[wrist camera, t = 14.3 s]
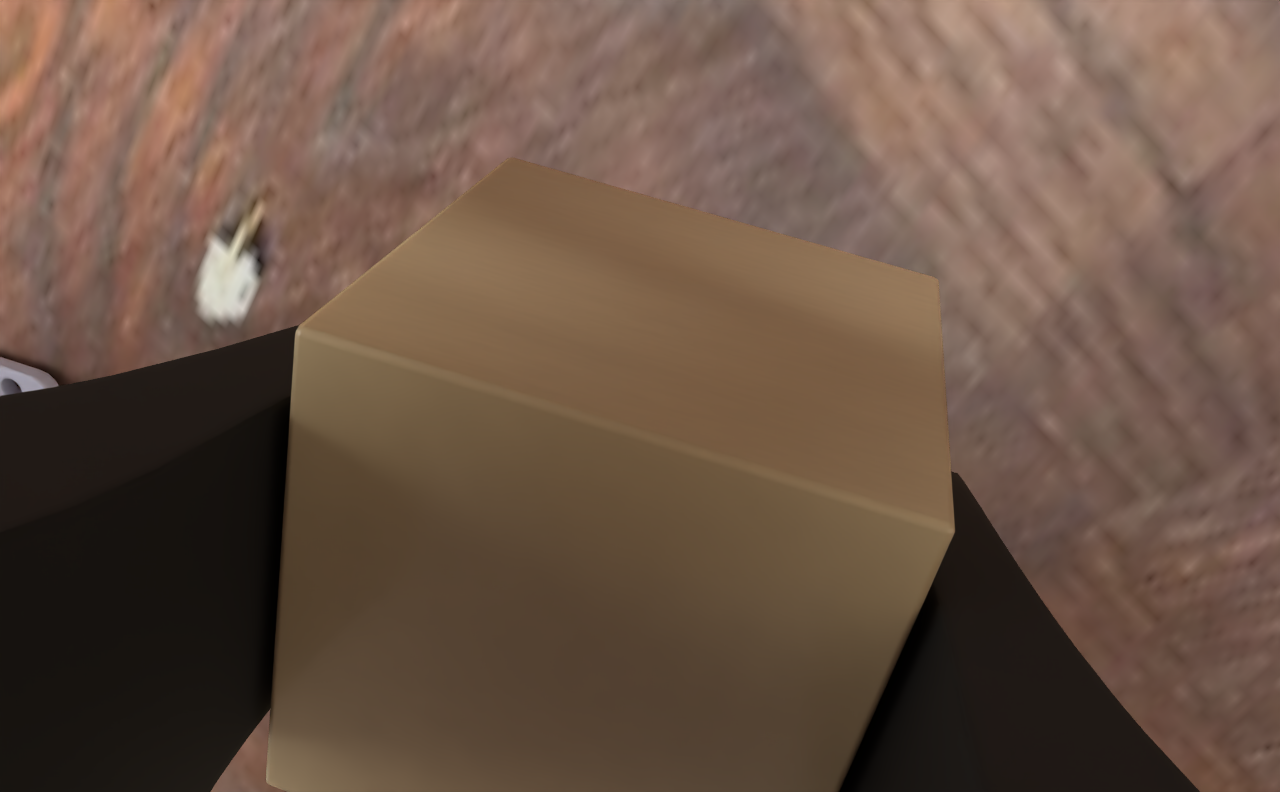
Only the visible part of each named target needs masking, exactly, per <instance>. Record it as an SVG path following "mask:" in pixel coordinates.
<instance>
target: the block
mask: <svg viewBox="0 0 1280 792" xmlns="http://www.w3.org/2000/svg"><path fill="white" fill-rule="evenodd" d="M954 533H955V523H954V508H953V493H952V478H951V463H950V447H949V432H948V417H947V402H946V387H945V371H944V356H943V341H942V326H941V311H940V296H939V281H938V280H937V279H936V278H935V277H931V276H928V275H924V274H921V273H917V272H914V271H910V270H907V269H903V268H900V267H896V266H893V265H889V264H886V263H882V262H879V261H875V260H872V259H868V258H864V257H861V256H857V255H854V254H850V253H847V252H843V251H840V250H836V249H833V248H829V247H826V246H822V245H819V244H815V243H812V242H808V241H805V240H801V239H798V238H794V237H791V236H787V235H784V234H780V233H776V232H773V231H769V230H766V229H762V228H759V227H755V226H752V225H748V224H745V223H741V222H738V221H734V220H731V219H727V218H724V217H720V216H717V215H713V214H710V213H706V212H703V211H699V210H696V209H692V208H688V207H685V206H681V205H678V204H674V203H671V202H667V201H664V200H660V199H657V198H653V197H650V196H646V195H643V194H639V193H636V192H632V191H629V190H625V189H622V188H618V187H615V186H611V185H608V184H604V183H600V182H597V181H593V180H590V179H586V178H583V177H579V176H576V175H572V174H569V173H565V172H562V171H558V170H555V169H551V168H548V167H544V166H541V165H537V164H534V163H530V162H527V161H523V160H519V159H516V158H508V159H506V160H505V161H504V162H503V163H501V164H500V165H499V166H498V167H496V168H495V169H494V170H493V171H491V172H490V173H489V174H488V175H486V176H485V177H484V178H483V179H481V180H480V181H479V182H478V183H476V184H475V185H474V186H473V187H471V188H470V189H469V190H468V191H466V192H465V193H464V194H463V195H461V196H460V197H459V198H458V199H456V200H455V201H454V202H453V203H451V204H450V205H449V206H448V207H446V208H445V209H444V210H443V211H441V212H440V213H439V214H438V215H437V216H435V217H434V218H433V219H432V220H430V221H429V222H428V223H427V224H425V225H424V226H423V227H422V228H420V229H419V230H418V231H417V232H415V233H414V234H413V235H412V236H410V237H409V238H408V239H407V240H405V241H404V242H403V243H402V244H400V245H399V246H398V247H397V248H395V249H394V250H393V251H392V252H390V253H389V254H388V255H387V256H385V257H384V258H383V259H382V260H380V261H379V262H378V263H377V264H375V265H374V266H373V267H372V268H370V269H369V270H368V271H367V272H365V273H364V274H363V275H362V276H360V277H359V278H358V279H357V280H355V281H354V282H353V283H352V284H350V285H349V286H348V287H347V288H345V289H344V290H343V291H342V292H340V293H339V294H338V295H337V296H335V297H334V298H333V299H332V300H330V301H329V302H328V303H327V304H326V305H324V306H323V307H322V308H321V309H319V310H318V311H317V312H316V313H314V314H313V315H312V316H311V317H309V318H308V319H307V320H306V321H304V322H303V323H302V324H301V325H299V327H298V328H297V330H296V333H295V345H294V360H293V375H292V390H291V405H290V421H289V436H288V451H287V466H286V481H285V496H284V512H283V527H282V542H281V557H280V572H279V587H278V602H277V618H276V633H275V648H274V663H273V678H272V693H271V709H270V724H269V739H268V754H267V769H266V782H267V783H268V784H269V785H270V786H273V787H276V788H279V789H282V790H285V791H288V792H840V789H841V787H842V785H843V783H844V780H845V778H846V776H847V774H848V771H849V769H850V767H851V765H852V762H853V760H854V758H855V756H856V753H857V751H858V749H859V747H860V744H861V742H862V740H863V738H864V735H865V733H866V731H867V729H868V726H869V724H870V722H871V720H872V717H873V715H874V713H875V711H876V708H877V706H878V704H879V702H880V699H881V697H882V695H883V693H884V690H885V688H886V686H887V684H888V681H889V679H890V677H891V675H892V672H893V670H894V668H895V666H896V663H897V661H898V659H899V657H900V654H901V652H902V650H903V648H904V645H905V643H906V641H907V639H908V636H909V634H910V632H911V630H912V627H913V625H914V623H915V621H916V619H917V616H918V614H919V612H920V610H921V607H922V605H923V603H924V601H925V598H926V596H927V594H928V592H929V589H930V587H931V585H932V583H933V580H934V578H935V576H936V574H937V571H938V569H939V567H940V565H941V562H942V560H943V558H944V556H945V553H946V551H947V549H948V547H949V544H950V542H951V540H952V538H953V535H954Z"/></svg>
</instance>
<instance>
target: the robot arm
mask: <svg viewBox="0 0 1280 792" xmlns="http://www.w3.org/2000/svg"><path fill="white" fill-rule="evenodd" d="M298 327H299V325H298V326H294V327H291V328H287V329H284V330H281V331H277V332H274V333H270V334H267V335H264V336H260V337H257V338H253V339H250V340H247V341H243V342H240V343H236V344H233V345H230V346H226V347H223V348H219V349H216V350H212V351H208V352H204V353H200V354H196V355H192V356H188V357H184V358H180V359H176V360H172V361H168V362H164V363H160V364H156V365H152V366H148V367H144V368H140V369H136V370H132V371H128V372H124V373H120V374H116V375H112V376H107V377H102V378H98V379H93V380H88V381H83V382H78V383H73V384H67V385H62V386H59V385H58V384H57V382H56V380H55V379H54V378H53V377H52V376H50V375H49V374H48V373H46V372H44V371H42V370H39V369H36V368H33V367H30V366H27V365H24V364H21V363H18V362H15V361H12V360H8V359H5V358H2V357H0V792H210V791H211V790H212V788H213V787H214V785H215V783H216V782H217V780H218V779H219V777H220V776H221V775H222V773H223V772H224V770H225V769H226V767H227V766H228V765H229V763H230V762H231V760H232V759H233V758H234V756H235V755H236V753H237V752H238V751H239V749H240V748H241V746H242V745H243V743H244V742H245V741H246V739H247V738H248V737H249V735H250V734H251V733H252V731H253V730H254V729H255V728H256V726H257V725H258V724H259V722H260V721H261V720H262V719H263V717H264V716H265V715H266V713H267V712H268V711H269V710H270V708H271V693H272V678H273V663H274V648H275V633H276V618H277V602H278V587H279V572H280V557H281V542H282V527H283V512H284V496H285V481H286V466H287V451H288V436H289V421H290V405H291V390H292V375H293V360H294V345H295V333H296V330H297V328H298ZM14 381H15V382H16V383H17V384H18V385H19V386H20V388H21V389H20V388H18V386H17V385H16V384H15V382H14ZM951 478H952V493H953V508H954V523H955V533H954V535H953V538H952V540H951V542H950V544H949V547H948V549H947V551H946V553H945V556H944V558H943V560H942V562H941V565H940V567H939V569H938V571H937V574H936V576H935V578H934V580H933V583H932V585H931V587H930V589H929V592H928V594H927V596H926V598H925V601H924V603H923V605H922V607H921V610H920V612H919V614H918V616H917V619H916V621H915V623H914V625H913V627H912V630H911V632H910V634H909V636H908V639H907V641H906V643H905V645H904V648H903V650H902V652H901V654H900V657H899V659H898V661H897V663H896V666H895V668H894V670H893V672H892V675H891V677H890V679H889V681H888V684H887V686H886V688H885V690H884V693H883V695H882V697H881V699H880V702H879V704H878V706H877V708H876V711H875V713H874V715H873V717H872V720H871V722H870V724H869V726H868V729H867V731H866V733H865V735H864V738H863V740H862V742H861V744H860V747H859V749H858V751H857V753H856V756H855V758H854V760H853V762H852V765H851V767H850V769H849V771H848V774H847V776H846V778H845V780H844V783H843V785H842V787H841V789H840V792H1200V791H1199V790H1198V789H1197V788H1196V787H1195V786H1194V785H1193V784H1192V783H1191V782H1190V781H1189V779H1188V778H1187V777H1186V776H1185V775H1184V774H1183V773H1182V772H1181V771H1180V770H1179V769H1178V768H1177V766H1176V765H1175V764H1174V763H1173V762H1172V761H1171V760H1170V759H1169V758H1168V757H1167V756H1166V755H1165V754H1164V752H1163V751H1162V750H1161V749H1160V748H1159V747H1158V746H1157V745H1156V744H1155V743H1154V742H1153V741H1152V739H1151V738H1150V737H1149V736H1148V735H1147V734H1146V733H1145V732H1144V731H1143V729H1142V728H1141V727H1140V726H1139V725H1138V724H1137V723H1136V721H1135V720H1134V719H1133V718H1132V717H1131V716H1130V714H1129V713H1128V712H1127V711H1126V710H1125V709H1124V707H1123V706H1122V705H1121V704H1120V703H1119V701H1118V700H1117V699H1116V698H1115V696H1114V695H1113V694H1112V693H1111V691H1110V690H1109V689H1108V688H1107V686H1106V685H1105V684H1104V682H1103V681H1102V680H1101V679H1100V677H1099V676H1098V675H1097V674H1096V672H1095V671H1094V670H1093V668H1092V667H1091V666H1090V665H1089V663H1088V662H1087V661H1086V660H1085V658H1084V657H1083V656H1082V655H1081V653H1080V652H1079V651H1078V649H1077V648H1076V647H1075V646H1074V644H1073V643H1072V641H1071V640H1070V639H1069V637H1068V636H1067V635H1066V633H1065V632H1064V631H1063V629H1062V628H1061V626H1060V625H1059V624H1058V622H1057V621H1056V620H1055V618H1054V617H1053V615H1052V614H1051V613H1050V611H1049V610H1048V608H1047V607H1046V606H1045V604H1044V603H1043V601H1042V600H1041V598H1040V597H1039V595H1038V594H1037V593H1036V591H1035V590H1034V588H1033V587H1032V585H1031V584H1030V582H1029V581H1028V579H1027V578H1026V576H1025V575H1024V573H1023V572H1022V570H1021V569H1020V567H1019V566H1018V564H1017V563H1016V561H1015V560H1014V558H1013V557H1012V555H1011V554H1010V552H1009V551H1008V549H1007V548H1006V546H1005V544H1004V543H1003V541H1002V540H1001V538H1000V537H999V535H998V534H997V532H996V530H995V529H994V527H993V526H992V524H991V523H990V521H989V519H988V518H987V516H986V515H985V513H984V512H983V510H982V508H981V507H980V505H979V504H978V502H977V501H976V499H975V498H974V496H973V494H972V493H971V491H970V490H969V488H968V487H967V485H966V484H965V483H964V481H963V480H962V478H961V477H960V476H959V474H958V473H954V472H951Z"/></svg>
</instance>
